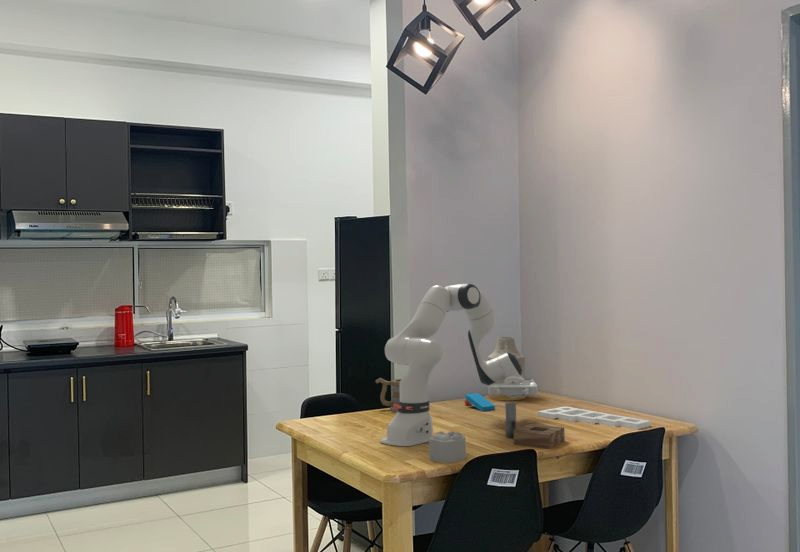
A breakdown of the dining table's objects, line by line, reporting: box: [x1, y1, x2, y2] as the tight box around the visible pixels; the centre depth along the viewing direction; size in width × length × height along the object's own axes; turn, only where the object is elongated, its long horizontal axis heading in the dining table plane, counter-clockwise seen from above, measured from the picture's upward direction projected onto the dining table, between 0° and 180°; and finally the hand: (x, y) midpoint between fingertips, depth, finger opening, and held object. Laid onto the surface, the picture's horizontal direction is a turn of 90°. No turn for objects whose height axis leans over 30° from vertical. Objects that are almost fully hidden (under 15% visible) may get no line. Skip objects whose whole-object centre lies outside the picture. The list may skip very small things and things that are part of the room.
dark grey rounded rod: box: [505, 402, 517, 439], centre depth 288 cm, size 4×4×13 cm
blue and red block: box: [464, 392, 496, 412], centre depth 352 cm, size 7×7×18 cm
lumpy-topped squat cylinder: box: [428, 430, 467, 464], centre depth 258 cm, size 10×13×9 cm
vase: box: [487, 336, 526, 402], centre depth 377 cm, size 18×18×30 cm
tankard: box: [375, 377, 402, 413], centre depth 350 cm, size 20×13×15 cm, turn 74°
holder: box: [537, 406, 651, 430], centre depth 315 cm, size 45×18×3 cm, turn 36°
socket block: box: [513, 423, 566, 449], centre depth 278 cm, size 14×14×5 cm
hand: (512, 392), depth 300 cm, fingers open, 8 cm apart
